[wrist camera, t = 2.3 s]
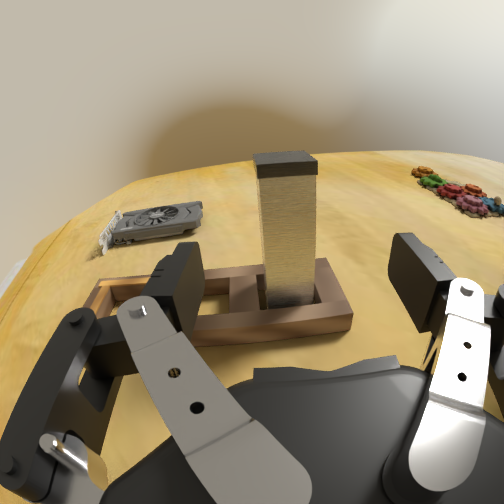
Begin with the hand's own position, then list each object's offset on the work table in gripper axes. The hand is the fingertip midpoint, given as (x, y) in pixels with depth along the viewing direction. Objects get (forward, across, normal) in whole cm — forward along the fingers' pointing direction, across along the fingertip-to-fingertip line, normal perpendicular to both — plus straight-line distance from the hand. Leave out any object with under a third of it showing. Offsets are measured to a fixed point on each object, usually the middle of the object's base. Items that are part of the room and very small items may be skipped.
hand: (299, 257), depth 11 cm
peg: (+12, 0, +12) cm, 17 cm away
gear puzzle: (+46, -44, +12) cm, 65 cm away
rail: (+11, +8, +12) cm, 18 cm away
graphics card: (+31, +20, +13) cm, 39 cm away
